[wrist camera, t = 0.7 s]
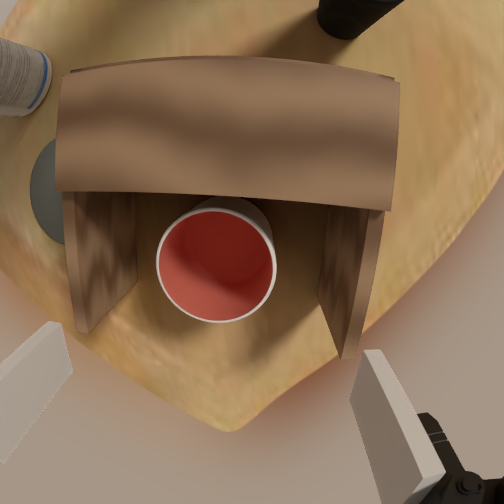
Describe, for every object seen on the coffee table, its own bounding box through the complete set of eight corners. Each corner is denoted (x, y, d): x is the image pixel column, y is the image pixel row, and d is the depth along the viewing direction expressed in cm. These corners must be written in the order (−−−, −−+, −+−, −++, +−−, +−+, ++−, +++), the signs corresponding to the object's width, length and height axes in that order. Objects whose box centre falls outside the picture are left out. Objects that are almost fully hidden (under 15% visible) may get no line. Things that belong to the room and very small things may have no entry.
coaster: (33, 138, 32) (30, 138, 31) (121, 130, 32) (119, 129, 31) (35, 241, 36) (33, 242, 35) (120, 248, 36) (117, 249, 35)
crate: (131, 96, 31) (63, 68, 17) (347, 105, 30) (399, 74, 17) (129, 280, 37) (72, 337, 23) (326, 296, 36) (357, 367, 23)
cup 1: (182, 193, 34) (152, 207, 24) (274, 195, 33) (279, 209, 24) (185, 279, 36) (160, 319, 27) (270, 283, 36) (273, 326, 27)
